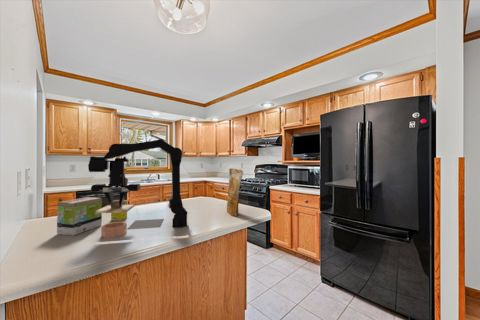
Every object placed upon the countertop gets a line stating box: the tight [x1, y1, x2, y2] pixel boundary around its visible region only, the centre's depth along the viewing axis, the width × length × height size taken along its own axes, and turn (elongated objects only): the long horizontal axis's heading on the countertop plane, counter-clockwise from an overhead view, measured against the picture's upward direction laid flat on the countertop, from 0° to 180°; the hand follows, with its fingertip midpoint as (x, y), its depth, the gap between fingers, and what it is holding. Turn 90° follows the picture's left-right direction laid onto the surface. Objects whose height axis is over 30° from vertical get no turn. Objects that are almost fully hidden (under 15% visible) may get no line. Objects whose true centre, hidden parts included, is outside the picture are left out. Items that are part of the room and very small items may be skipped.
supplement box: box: [110, 199, 128, 221], centre depth 119 cm, size 6×6×11 cm
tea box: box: [56, 196, 103, 236], centre depth 104 cm, size 15×10×15 cm, turn 168°
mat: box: [127, 218, 165, 230], centre depth 110 cm, size 15×15×1 cm
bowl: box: [100, 221, 128, 239], centre depth 95 cm, size 9×9×5 cm
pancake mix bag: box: [226, 168, 244, 217], centre depth 135 cm, size 7×19×28 cm, turn 20°
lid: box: [96, 199, 136, 214], centre depth 96 cm, size 12×12×4 cm
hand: (116, 206), depth 96 cm, fingers closed on lid, 3 cm apart
